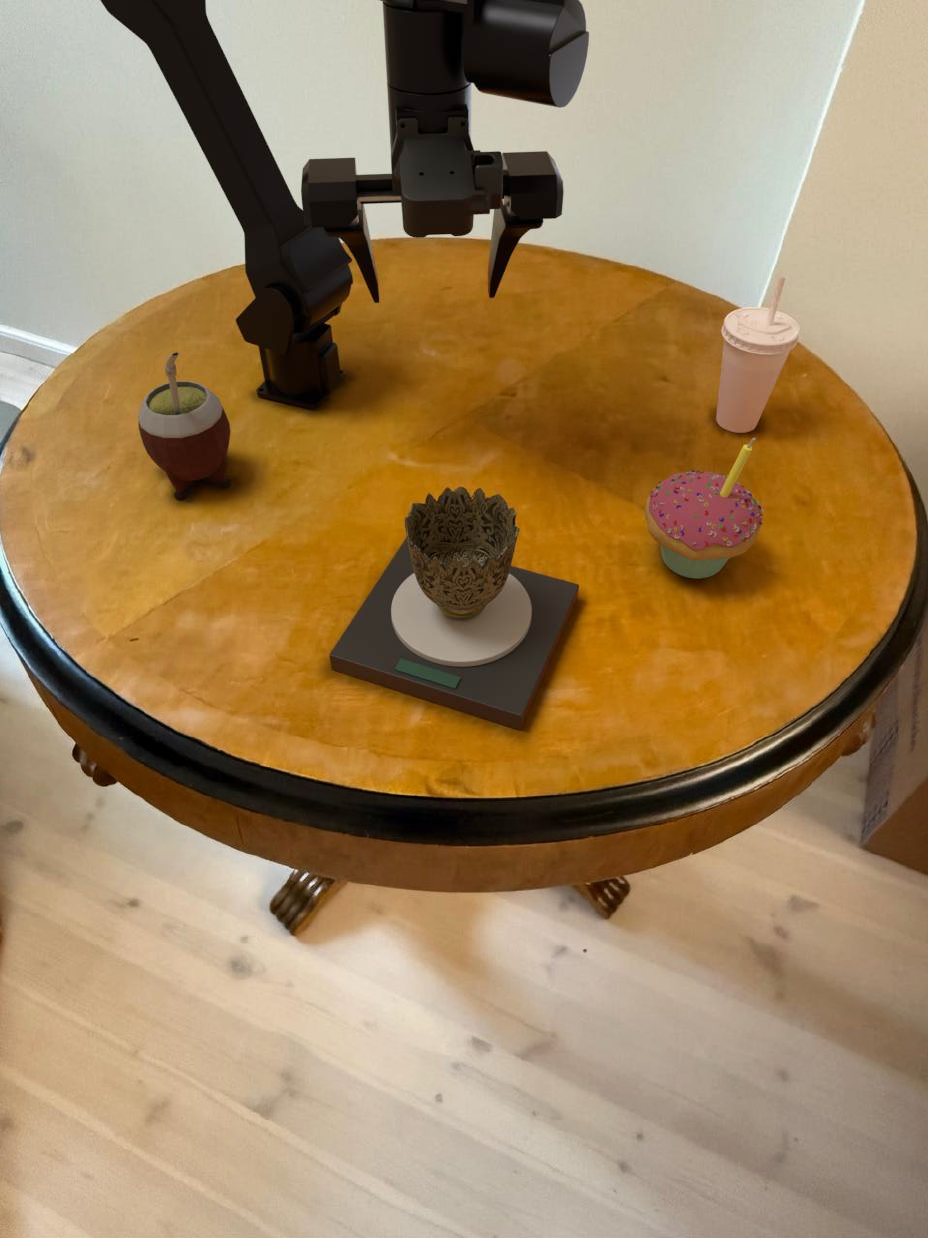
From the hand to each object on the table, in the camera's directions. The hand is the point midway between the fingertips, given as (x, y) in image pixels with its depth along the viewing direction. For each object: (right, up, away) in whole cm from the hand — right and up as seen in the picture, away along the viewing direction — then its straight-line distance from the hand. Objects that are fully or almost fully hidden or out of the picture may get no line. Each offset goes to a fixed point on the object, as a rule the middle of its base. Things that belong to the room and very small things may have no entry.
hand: (434, 298), depth 72 cm
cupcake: (+20, -21, -2) cm, 29 cm away
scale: (+2, -27, -7) cm, 28 cm away
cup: (+2, -25, -8) cm, 26 cm away
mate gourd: (-20, -14, +5) cm, 25 cm away
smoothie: (+28, -8, +11) cm, 31 cm away
